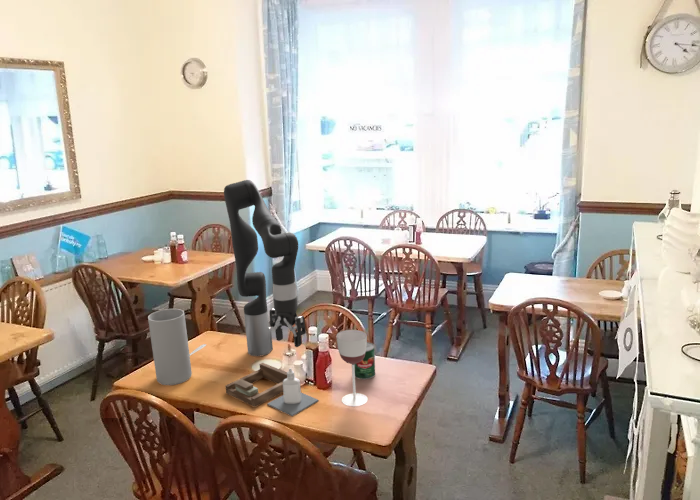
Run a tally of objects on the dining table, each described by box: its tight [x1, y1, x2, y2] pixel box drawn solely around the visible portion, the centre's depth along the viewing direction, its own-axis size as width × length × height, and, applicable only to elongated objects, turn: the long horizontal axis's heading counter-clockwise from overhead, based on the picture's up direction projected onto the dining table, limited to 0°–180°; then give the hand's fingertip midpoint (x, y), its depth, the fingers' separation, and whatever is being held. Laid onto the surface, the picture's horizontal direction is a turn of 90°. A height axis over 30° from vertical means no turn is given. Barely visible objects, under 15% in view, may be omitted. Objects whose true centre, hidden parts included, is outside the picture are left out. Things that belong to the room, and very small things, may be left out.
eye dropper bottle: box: [282, 367, 302, 404], centre depth 188 cm, size 4×6×12 cm
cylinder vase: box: [147, 308, 193, 386], centre depth 208 cm, size 12×12×25 cm
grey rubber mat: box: [267, 392, 320, 417], centre depth 190 cm, size 12×12×1 cm
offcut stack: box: [234, 380, 259, 397], centre depth 195 cm, size 4×9×5 cm, turn 49°
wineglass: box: [336, 329, 369, 407], centre depth 187 cm, size 9×10×23 cm
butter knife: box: [189, 343, 207, 356], centre depth 228 cm, size 1×27×3 cm
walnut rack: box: [224, 362, 288, 408], centre depth 199 cm, size 17×16×5 cm
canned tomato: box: [354, 341, 376, 380], centre depth 206 cm, size 8×8×11 cm
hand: (288, 343), depth 184 cm, fingers open, 8 cm apart
